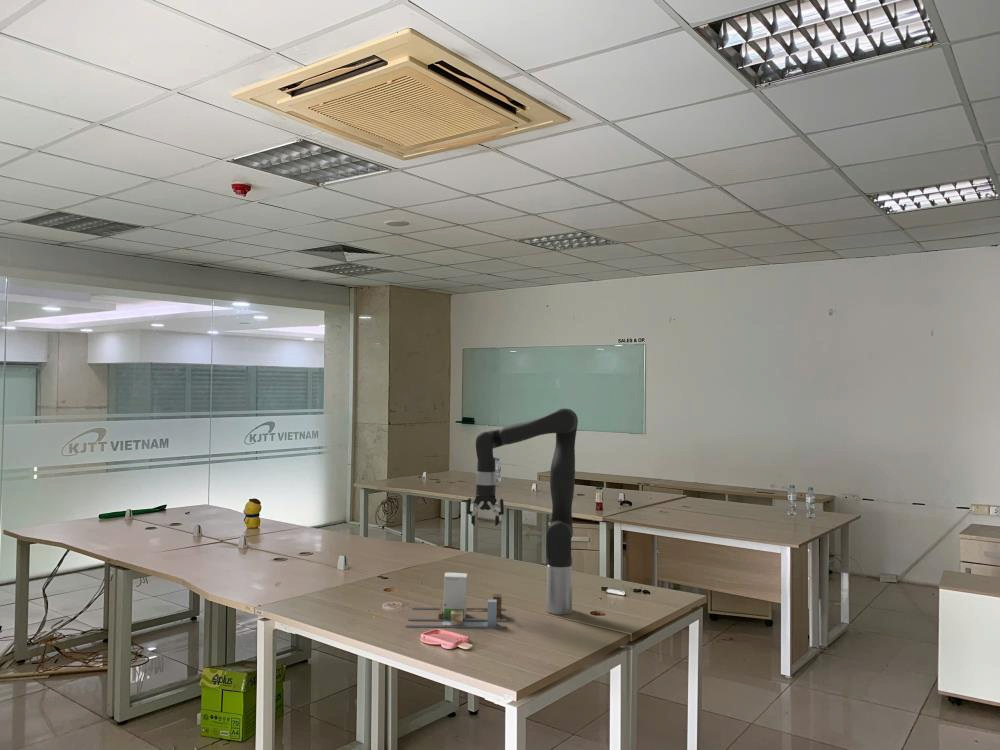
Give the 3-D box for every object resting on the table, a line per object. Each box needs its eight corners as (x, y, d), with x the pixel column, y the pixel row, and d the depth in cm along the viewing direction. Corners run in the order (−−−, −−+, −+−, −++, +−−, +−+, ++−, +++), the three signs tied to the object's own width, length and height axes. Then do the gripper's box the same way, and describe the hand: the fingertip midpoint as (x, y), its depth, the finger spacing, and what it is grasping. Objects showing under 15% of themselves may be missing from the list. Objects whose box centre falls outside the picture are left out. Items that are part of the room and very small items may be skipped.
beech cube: (462, 622, 241) (463, 610, 241) (462, 625, 237) (462, 613, 237) (451, 622, 241) (451, 610, 241) (450, 625, 237) (450, 613, 237)
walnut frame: (500, 613, 256) (501, 591, 256) (501, 623, 244) (501, 600, 244) (440, 612, 255) (441, 590, 256) (438, 622, 244) (438, 599, 244)
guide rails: (505, 612, 257) (505, 608, 257) (506, 631, 236) (506, 626, 236) (412, 611, 257) (412, 606, 257) (405, 630, 235) (405, 625, 235)
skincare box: (442, 621, 245) (443, 576, 246) (443, 615, 252) (444, 572, 252) (466, 621, 245) (466, 576, 246) (466, 615, 252) (467, 572, 253)
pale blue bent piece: (496, 624, 242) (496, 598, 242) (496, 629, 237) (496, 602, 237) (442, 624, 242) (443, 598, 242) (441, 629, 237) (442, 602, 237)
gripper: (504, 482, 274) (503, 524, 273) (467, 481, 273) (466, 523, 273) (504, 484, 266) (503, 527, 265) (467, 484, 266) (466, 526, 265)
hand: (484, 525), depth 269 cm, fingers open, 8 cm apart
